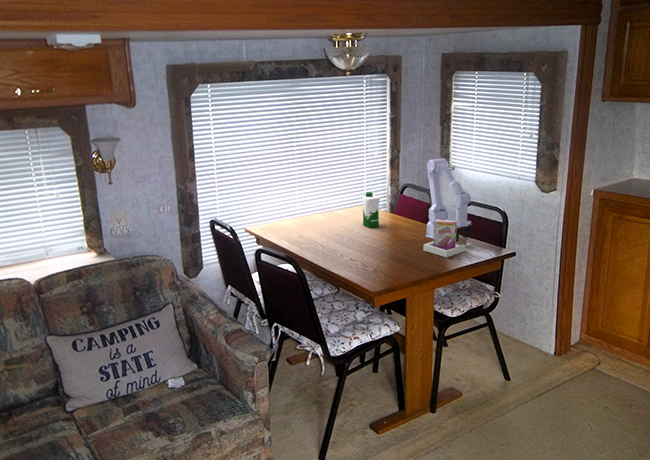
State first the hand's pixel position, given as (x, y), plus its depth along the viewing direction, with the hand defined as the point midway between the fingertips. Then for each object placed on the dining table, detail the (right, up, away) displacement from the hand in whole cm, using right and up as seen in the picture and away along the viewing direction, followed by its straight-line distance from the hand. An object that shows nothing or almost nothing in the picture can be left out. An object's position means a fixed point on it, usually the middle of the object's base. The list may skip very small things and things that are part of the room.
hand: (460, 240), depth 320 cm
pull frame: (-6, -4, -4) cm, 9 cm away
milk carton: (-45, +8, +40) cm, 61 cm away
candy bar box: (-10, -6, -7) cm, 13 cm away
